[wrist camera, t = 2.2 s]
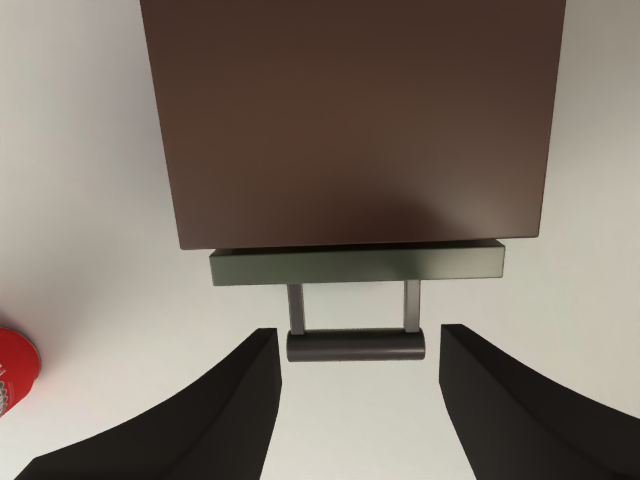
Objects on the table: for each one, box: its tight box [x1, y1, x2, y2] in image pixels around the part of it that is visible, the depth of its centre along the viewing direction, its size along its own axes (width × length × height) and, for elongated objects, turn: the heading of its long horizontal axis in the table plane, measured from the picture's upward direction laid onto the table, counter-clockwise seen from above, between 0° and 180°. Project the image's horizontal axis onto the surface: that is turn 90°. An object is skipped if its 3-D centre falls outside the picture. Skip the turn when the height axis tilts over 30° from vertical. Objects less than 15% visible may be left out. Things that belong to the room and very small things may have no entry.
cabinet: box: [140, 0, 566, 250], centre depth 14 cm, size 14×12×8 cm
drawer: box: [209, 239, 505, 362], centre depth 15 cm, size 17×10×6 cm, turn 3°
